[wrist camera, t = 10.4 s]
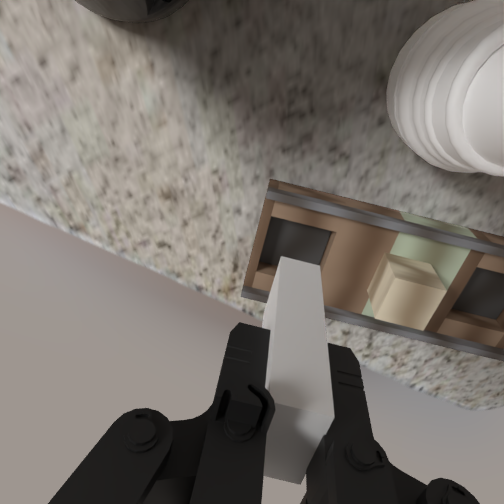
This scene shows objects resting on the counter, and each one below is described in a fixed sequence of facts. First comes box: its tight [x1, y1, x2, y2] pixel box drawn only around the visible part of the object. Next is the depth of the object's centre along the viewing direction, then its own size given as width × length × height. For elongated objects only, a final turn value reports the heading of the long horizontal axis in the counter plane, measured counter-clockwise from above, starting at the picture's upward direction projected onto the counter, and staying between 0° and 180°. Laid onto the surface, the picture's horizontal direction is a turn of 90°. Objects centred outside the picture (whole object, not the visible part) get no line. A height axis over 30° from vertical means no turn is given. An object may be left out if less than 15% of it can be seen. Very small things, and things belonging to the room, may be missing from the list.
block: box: [367, 252, 447, 331], centre depth 39 cm, size 5×5×5 cm
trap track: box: [241, 179, 504, 361], centre depth 42 cm, size 31×13×4 cm, turn 77°
